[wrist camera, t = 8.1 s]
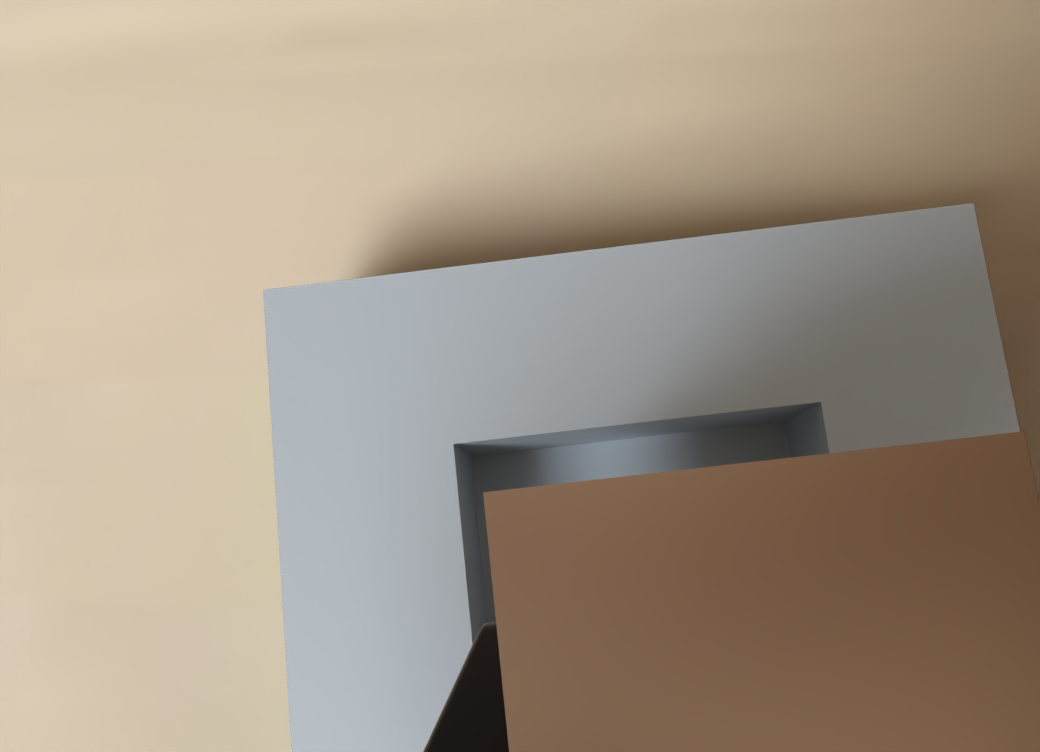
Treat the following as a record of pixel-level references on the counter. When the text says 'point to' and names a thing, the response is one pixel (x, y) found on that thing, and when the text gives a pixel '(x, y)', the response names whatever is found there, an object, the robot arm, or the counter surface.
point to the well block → (580, 416)
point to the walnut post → (776, 605)
